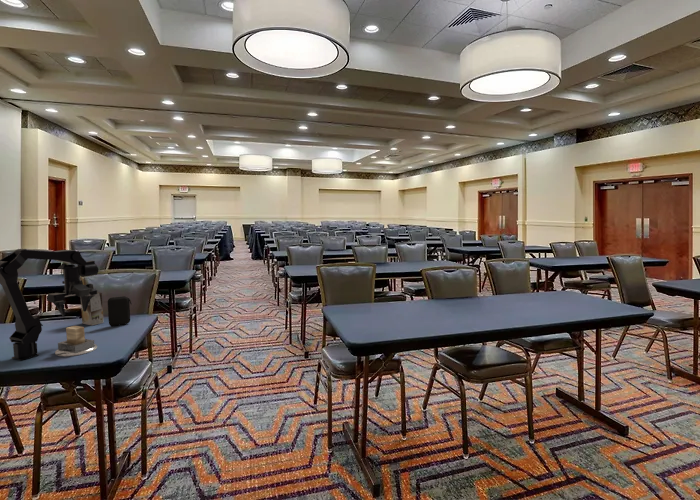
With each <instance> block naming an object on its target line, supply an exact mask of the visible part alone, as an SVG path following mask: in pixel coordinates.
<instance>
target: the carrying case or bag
mask: <svg viewBox="0 0 700 500" xmlns="http://www.w3.org/2000/svg"><path fill="white" fill-rule="evenodd" d="M130 305H131V306H132V300H131V299H130V297H128V296H127V295H122V296H115V297H114V296H113V297H109V298H108V299H107V316H108V317H107V318H108V325H109V326H111V327H118V326H124V325H128V324H129V323H130V321H131V308H130Z"/></svg>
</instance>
